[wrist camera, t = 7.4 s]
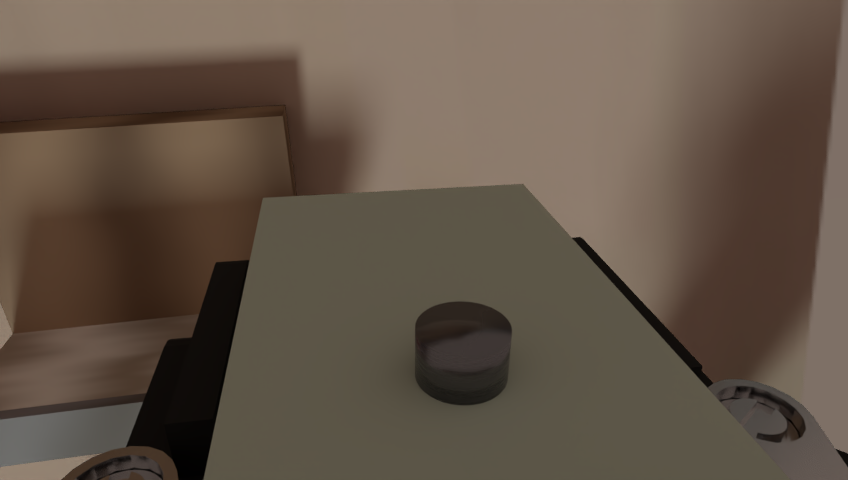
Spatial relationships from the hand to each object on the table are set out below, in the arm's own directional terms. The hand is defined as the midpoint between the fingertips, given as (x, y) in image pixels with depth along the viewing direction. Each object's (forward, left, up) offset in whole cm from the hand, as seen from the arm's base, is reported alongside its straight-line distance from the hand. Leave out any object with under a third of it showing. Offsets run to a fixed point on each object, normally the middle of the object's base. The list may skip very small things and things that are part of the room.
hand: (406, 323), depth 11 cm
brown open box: (+9, +5, -18) cm, 21 cm away
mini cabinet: (0, 0, -2) cm, 2 cm away
